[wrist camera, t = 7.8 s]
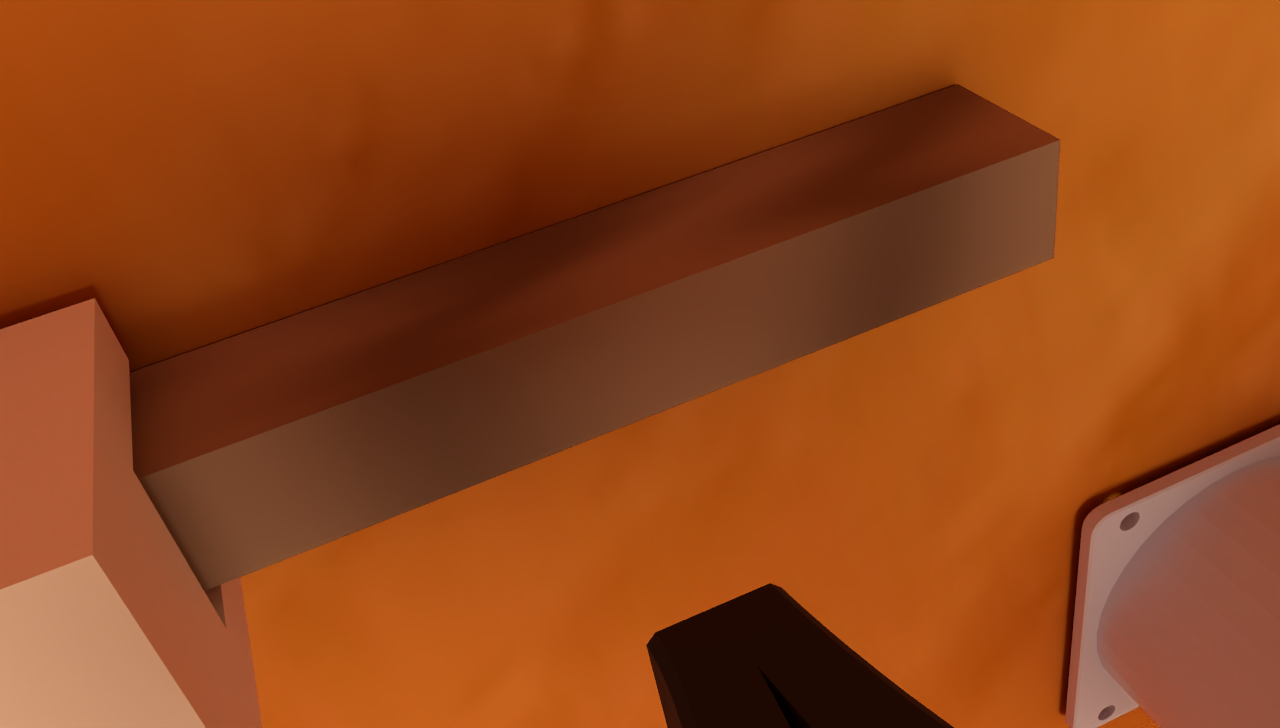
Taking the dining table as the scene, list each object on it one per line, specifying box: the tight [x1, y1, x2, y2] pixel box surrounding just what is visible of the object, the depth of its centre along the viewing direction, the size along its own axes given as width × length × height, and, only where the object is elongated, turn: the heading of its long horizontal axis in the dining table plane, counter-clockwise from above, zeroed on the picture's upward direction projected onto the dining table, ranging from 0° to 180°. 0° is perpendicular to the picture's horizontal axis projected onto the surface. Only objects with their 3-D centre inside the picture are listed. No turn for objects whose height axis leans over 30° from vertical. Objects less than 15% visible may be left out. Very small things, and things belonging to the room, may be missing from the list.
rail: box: [129, 84, 1060, 591], centre depth 15 cm, size 20×6×6 cm, turn 100°
